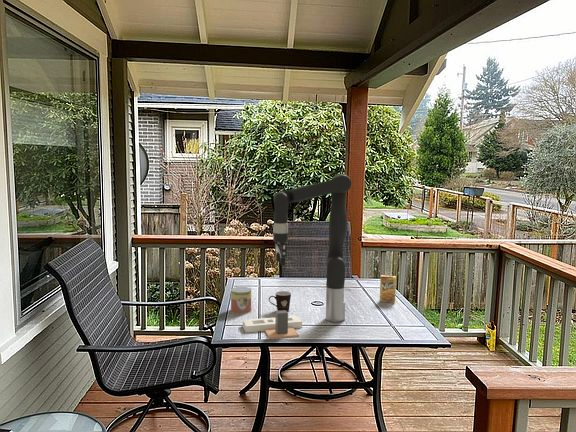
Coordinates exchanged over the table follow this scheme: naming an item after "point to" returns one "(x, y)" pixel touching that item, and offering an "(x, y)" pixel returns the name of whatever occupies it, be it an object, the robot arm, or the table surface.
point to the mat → (272, 334)
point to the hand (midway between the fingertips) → (280, 263)
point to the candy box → (387, 288)
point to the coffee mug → (282, 300)
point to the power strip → (269, 324)
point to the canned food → (241, 300)
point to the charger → (281, 322)
